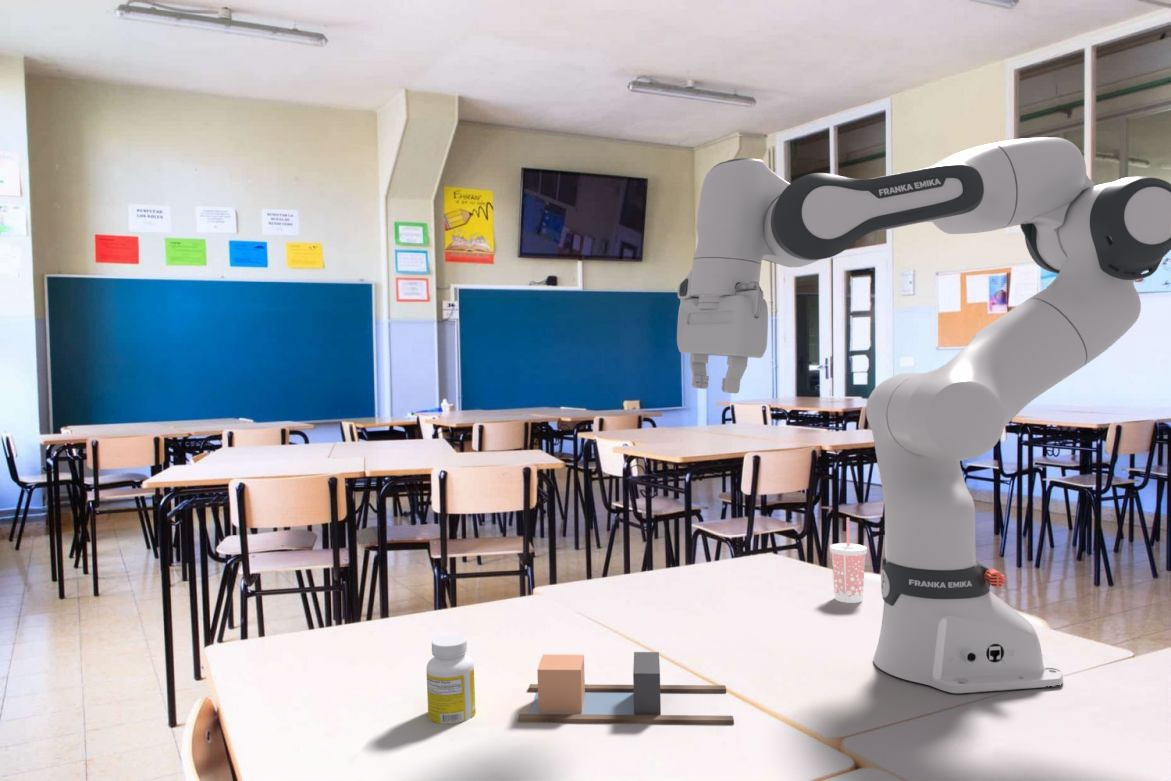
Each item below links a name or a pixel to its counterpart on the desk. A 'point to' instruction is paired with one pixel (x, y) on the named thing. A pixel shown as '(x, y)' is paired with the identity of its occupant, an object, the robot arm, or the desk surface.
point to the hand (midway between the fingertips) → (714, 390)
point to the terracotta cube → (561, 684)
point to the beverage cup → (848, 570)
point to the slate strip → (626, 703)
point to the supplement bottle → (450, 681)
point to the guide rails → (634, 718)
